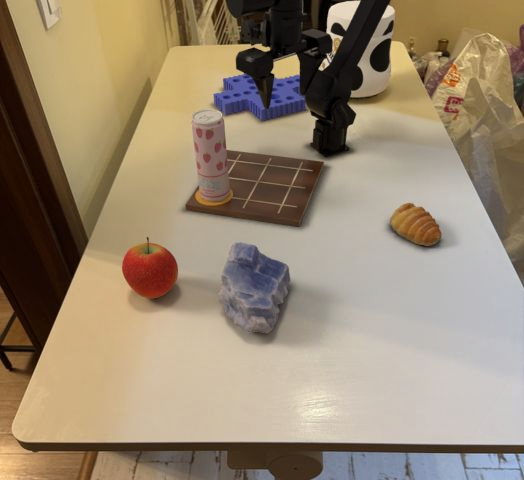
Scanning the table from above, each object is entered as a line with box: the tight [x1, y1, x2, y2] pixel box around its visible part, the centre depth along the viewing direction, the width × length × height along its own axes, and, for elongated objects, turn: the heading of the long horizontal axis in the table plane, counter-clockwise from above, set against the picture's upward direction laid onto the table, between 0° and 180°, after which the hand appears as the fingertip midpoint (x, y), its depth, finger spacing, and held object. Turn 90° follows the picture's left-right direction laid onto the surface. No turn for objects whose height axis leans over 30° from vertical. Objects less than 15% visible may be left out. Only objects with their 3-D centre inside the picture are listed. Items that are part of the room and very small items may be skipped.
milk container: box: [320, 0, 396, 101], centre depth 126 cm, size 17×17×18 cm
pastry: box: [389, 202, 443, 247], centre depth 90 cm, size 9×7×4 cm
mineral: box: [217, 241, 292, 334], centre depth 77 cm, size 14×10×10 cm
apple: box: [121, 236, 179, 299], centre depth 79 cm, size 8×8×10 cm
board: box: [184, 149, 325, 228], centre depth 102 cm, size 22×22×1 cm
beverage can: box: [190, 108, 230, 202], centre depth 93 cm, size 6×6×15 cm
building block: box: [212, 73, 307, 122], centre depth 130 cm, size 25×24×3 cm
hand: (284, 101), depth 99 cm, fingers open, 9 cm apart
